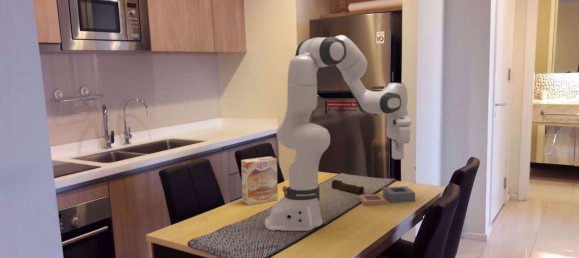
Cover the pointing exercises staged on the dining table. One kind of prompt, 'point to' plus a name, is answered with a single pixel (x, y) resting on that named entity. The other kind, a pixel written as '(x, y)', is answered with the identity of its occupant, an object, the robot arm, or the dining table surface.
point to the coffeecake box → (259, 180)
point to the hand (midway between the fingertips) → (397, 150)
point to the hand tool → (347, 187)
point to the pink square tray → (372, 200)
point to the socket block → (398, 194)
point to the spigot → (396, 153)
